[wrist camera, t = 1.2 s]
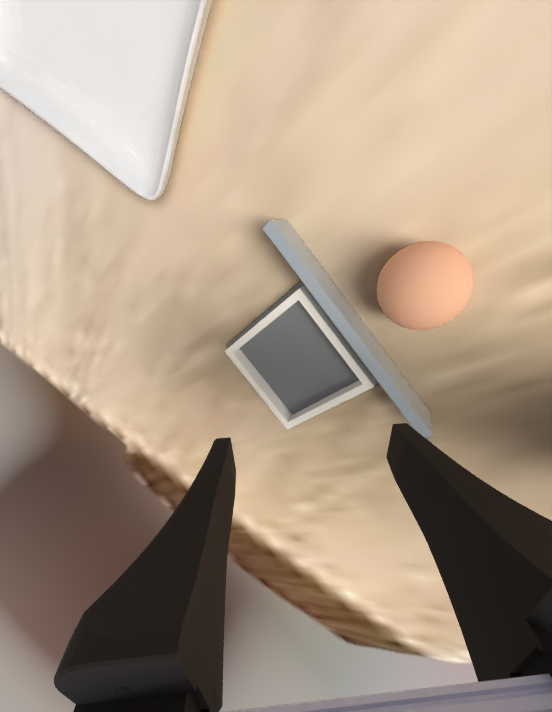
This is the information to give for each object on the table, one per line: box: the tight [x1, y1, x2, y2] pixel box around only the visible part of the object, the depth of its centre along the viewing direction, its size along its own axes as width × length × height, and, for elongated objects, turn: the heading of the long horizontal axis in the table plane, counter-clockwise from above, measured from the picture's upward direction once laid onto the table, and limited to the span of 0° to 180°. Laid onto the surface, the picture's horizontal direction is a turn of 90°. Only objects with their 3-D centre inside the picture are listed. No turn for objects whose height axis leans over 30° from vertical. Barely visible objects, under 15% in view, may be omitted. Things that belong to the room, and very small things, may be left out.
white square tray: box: [225, 281, 379, 430], centre depth 24 cm, size 10×10×2 cm
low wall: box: [262, 219, 433, 438], centre depth 20 cm, size 1×18×3 cm, turn 41°
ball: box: [377, 241, 473, 330], centre depth 17 cm, size 5×5×5 cm
